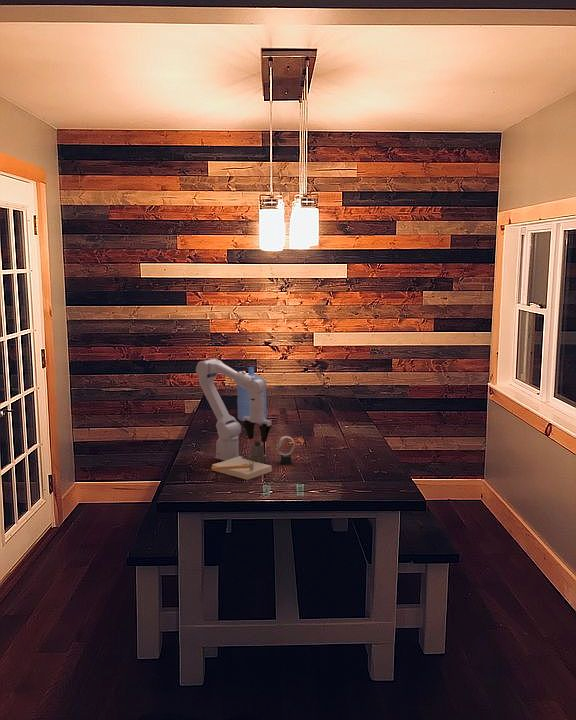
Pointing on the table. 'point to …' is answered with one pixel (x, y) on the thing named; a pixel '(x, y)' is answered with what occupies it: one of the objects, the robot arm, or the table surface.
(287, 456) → the watch
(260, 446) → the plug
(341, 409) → the table surface
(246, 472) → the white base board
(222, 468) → the orange long bar
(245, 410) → the water jug
